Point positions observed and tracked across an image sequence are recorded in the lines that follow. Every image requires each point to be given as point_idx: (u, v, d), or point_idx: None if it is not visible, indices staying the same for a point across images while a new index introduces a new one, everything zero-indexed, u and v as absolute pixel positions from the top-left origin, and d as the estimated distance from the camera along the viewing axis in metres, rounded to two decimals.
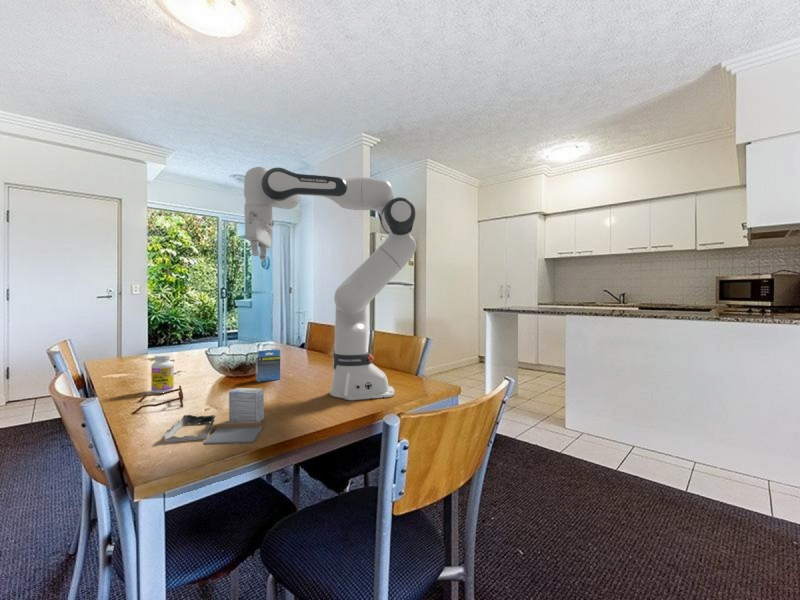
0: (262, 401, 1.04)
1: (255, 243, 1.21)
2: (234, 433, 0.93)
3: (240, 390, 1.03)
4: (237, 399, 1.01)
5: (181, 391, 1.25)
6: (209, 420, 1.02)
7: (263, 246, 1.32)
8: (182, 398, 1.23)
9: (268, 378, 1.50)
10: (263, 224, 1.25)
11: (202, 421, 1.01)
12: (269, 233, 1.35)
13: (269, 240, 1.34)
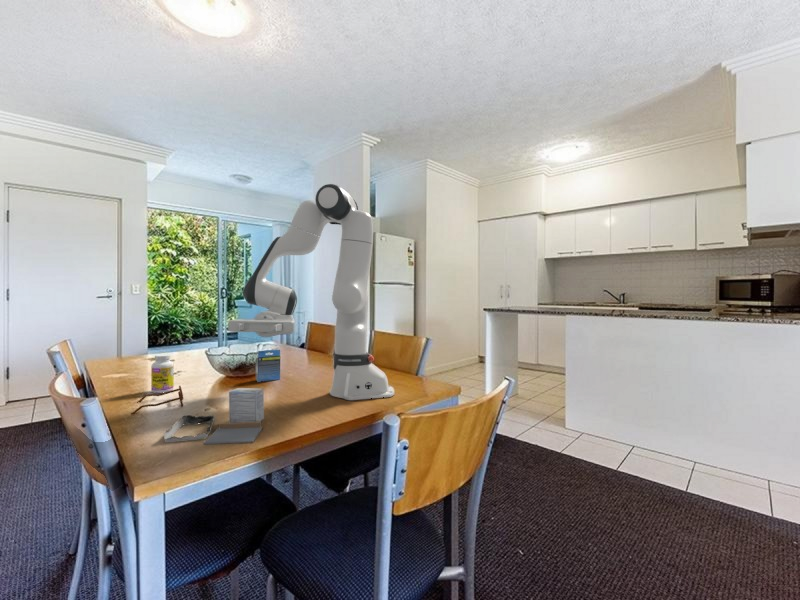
0: (262, 401, 1.04)
1: None
2: (234, 433, 0.93)
3: (240, 390, 1.03)
4: (237, 399, 1.01)
5: (181, 391, 1.25)
6: (208, 420, 1.02)
7: None
8: (182, 398, 1.22)
9: (268, 378, 1.50)
10: (258, 318, 1.25)
11: (201, 421, 1.01)
12: (287, 320, 1.25)
13: None
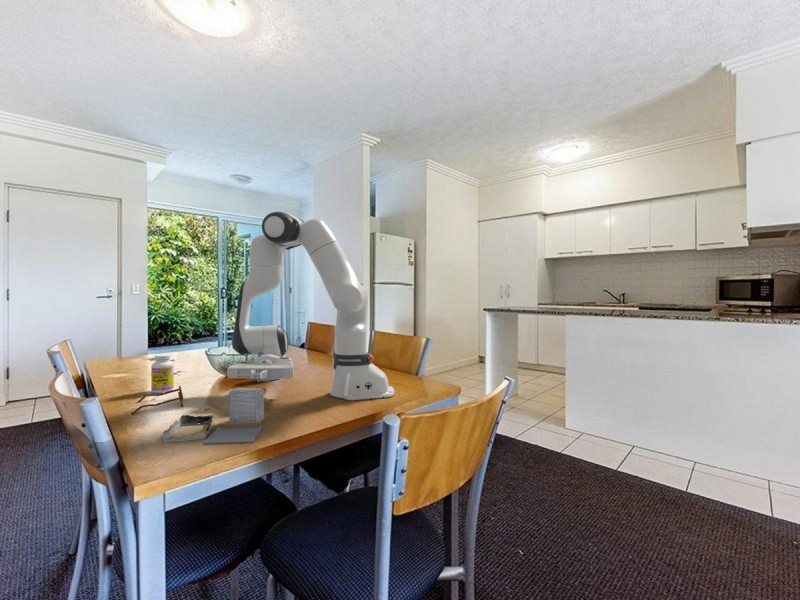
0: (262, 401, 1.04)
1: (250, 372, 1.18)
2: (234, 433, 0.93)
3: (240, 390, 1.03)
4: (237, 399, 1.01)
5: (181, 391, 1.25)
6: (207, 420, 1.02)
7: None
8: (182, 398, 1.22)
9: None
10: (257, 363, 1.25)
11: (200, 421, 1.01)
12: (286, 364, 1.25)
13: (284, 366, 1.23)
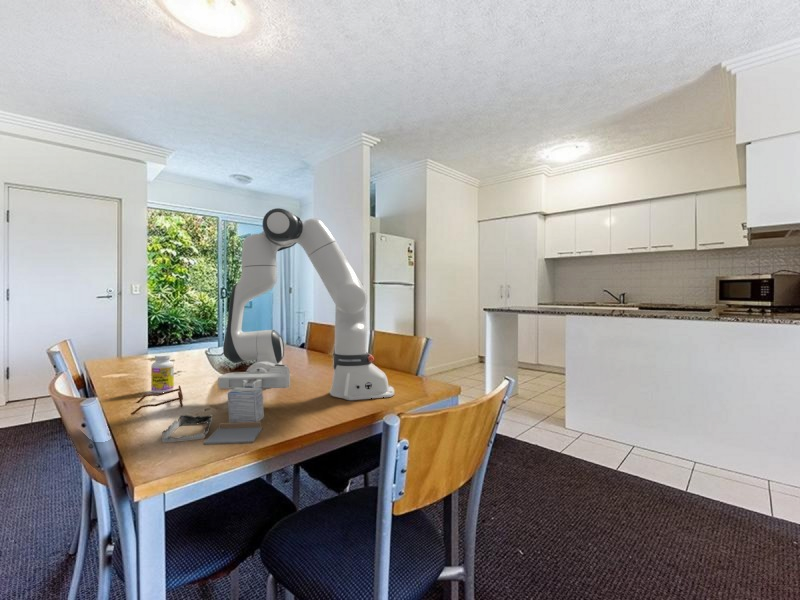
0: (261, 400, 1.04)
1: None
2: (234, 433, 0.93)
3: (239, 390, 1.02)
4: (236, 400, 1.01)
5: (180, 391, 1.25)
6: (206, 420, 1.02)
7: None
8: (181, 398, 1.22)
9: None
10: (250, 371, 1.15)
11: (199, 421, 1.01)
12: (282, 372, 1.15)
13: (279, 374, 1.13)
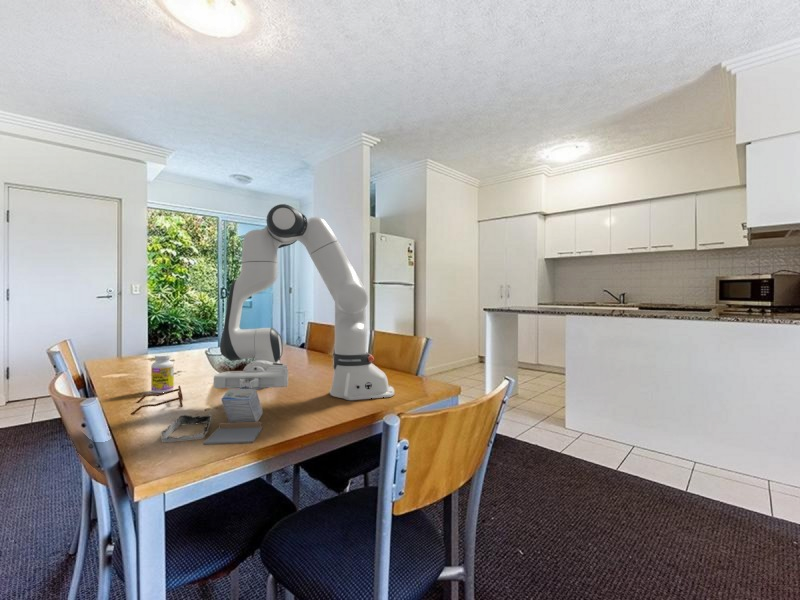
0: (257, 400, 1.01)
1: None
2: (234, 433, 0.93)
3: (232, 395, 0.99)
4: (231, 405, 0.98)
5: (180, 391, 1.25)
6: (205, 420, 1.02)
7: None
8: (181, 398, 1.22)
9: None
10: (247, 370, 1.12)
11: (198, 421, 1.01)
12: (280, 371, 1.12)
13: (277, 373, 1.10)
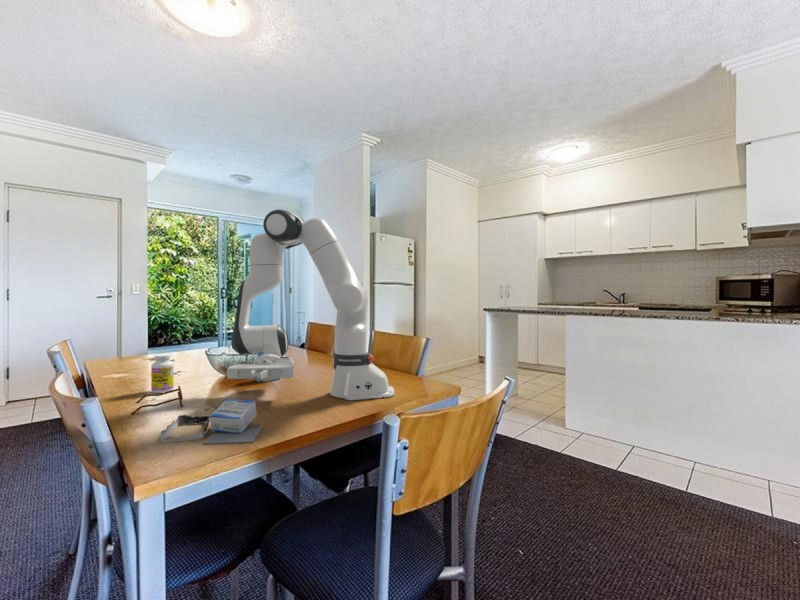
0: (246, 414, 0.95)
1: (250, 372, 1.16)
2: (234, 433, 0.93)
3: (219, 426, 0.93)
4: None
5: (180, 391, 1.25)
6: (204, 420, 1.02)
7: None
8: (181, 398, 1.22)
9: None
10: (257, 363, 1.23)
11: (197, 421, 1.01)
12: (286, 364, 1.23)
13: (284, 365, 1.21)
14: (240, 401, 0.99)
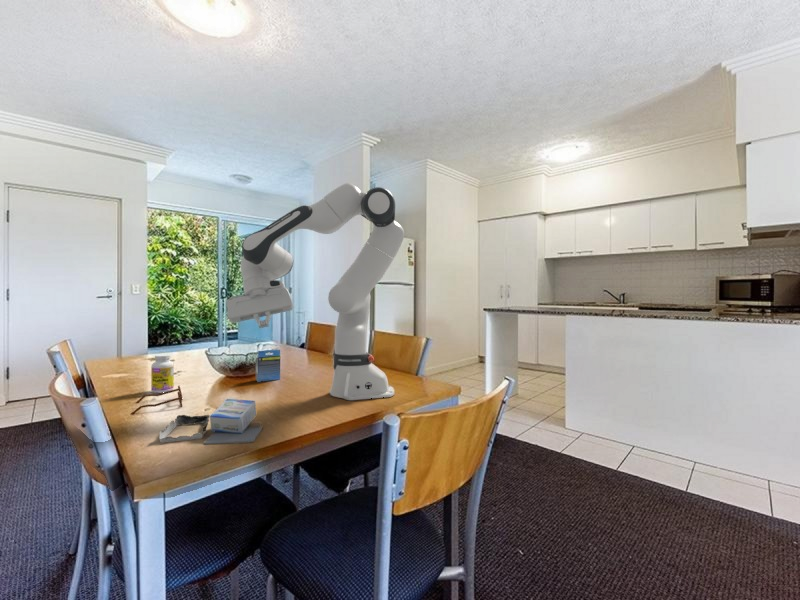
0: (246, 414, 0.95)
1: (253, 317, 1.20)
2: (234, 433, 0.93)
3: (219, 426, 0.93)
4: None
5: (180, 391, 1.25)
6: (203, 420, 1.02)
7: None
8: (181, 398, 1.22)
9: (268, 378, 1.50)
10: (250, 296, 1.22)
11: (196, 421, 1.01)
12: (281, 293, 1.24)
13: (282, 300, 1.23)
14: (240, 401, 0.99)
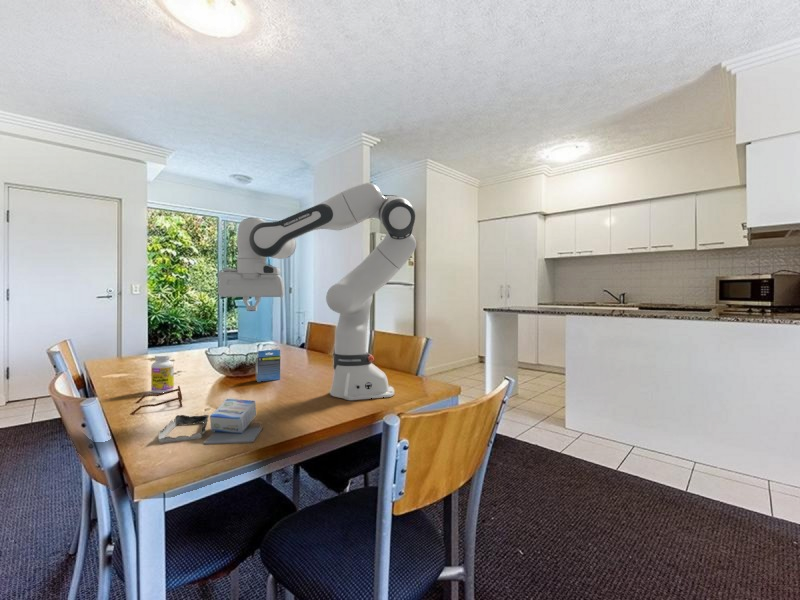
0: (246, 414, 0.95)
1: None
2: (234, 433, 0.93)
3: (219, 426, 0.93)
4: None
5: (180, 391, 1.25)
6: (202, 420, 1.02)
7: None
8: (181, 398, 1.22)
9: (268, 378, 1.50)
10: (242, 277, 1.20)
11: (195, 421, 1.01)
12: (274, 281, 1.22)
13: (273, 289, 1.22)
14: (240, 401, 0.99)
